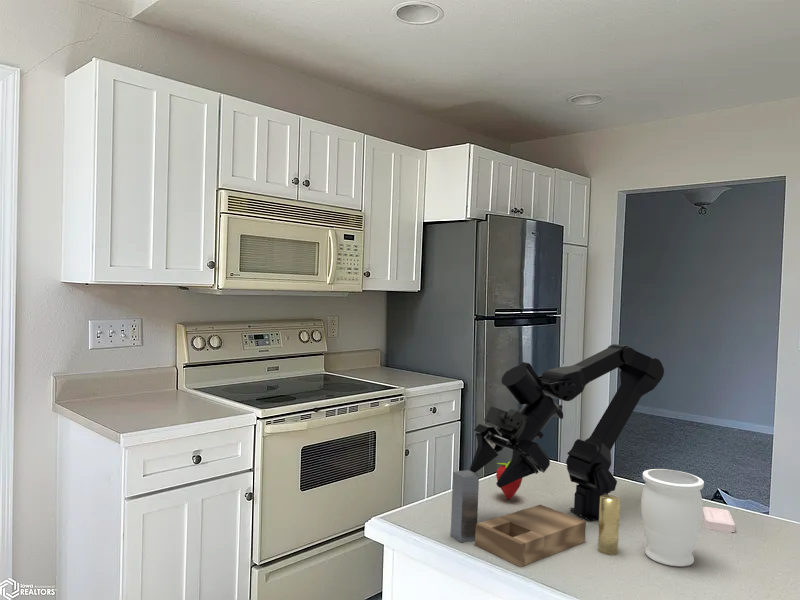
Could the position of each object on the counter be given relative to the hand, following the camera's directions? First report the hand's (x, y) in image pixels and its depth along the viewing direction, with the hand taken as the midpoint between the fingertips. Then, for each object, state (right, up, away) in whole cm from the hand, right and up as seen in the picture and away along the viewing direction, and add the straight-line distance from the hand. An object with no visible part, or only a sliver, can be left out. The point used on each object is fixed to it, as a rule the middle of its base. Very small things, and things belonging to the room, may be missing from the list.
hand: (484, 478), depth 120 cm
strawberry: (+9, -11, +21) cm, 26 cm away
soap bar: (+51, -13, +11) cm, 54 cm away
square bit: (-4, -11, -2) cm, 12 cm away
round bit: (+22, -12, -5) cm, 26 cm away
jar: (+33, -13, -7) cm, 36 cm away
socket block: (+8, -11, -3) cm, 15 cm away
